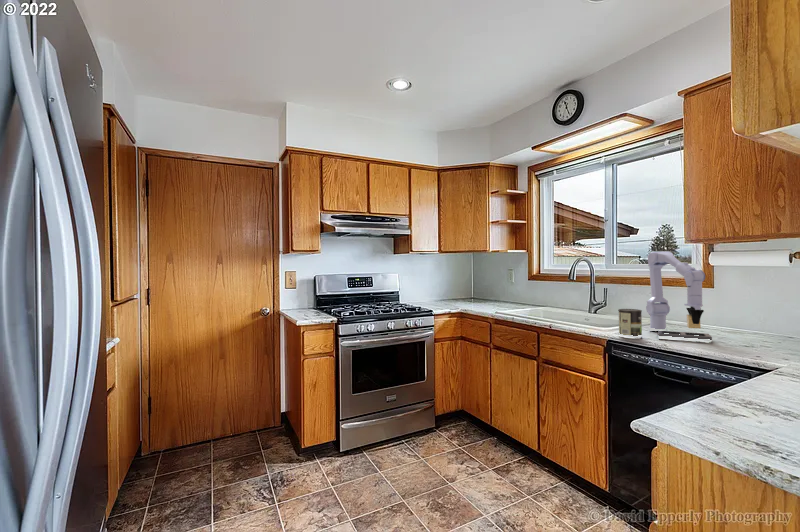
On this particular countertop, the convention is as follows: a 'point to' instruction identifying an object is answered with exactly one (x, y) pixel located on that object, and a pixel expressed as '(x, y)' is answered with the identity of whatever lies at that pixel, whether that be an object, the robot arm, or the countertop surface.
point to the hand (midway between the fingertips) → (694, 323)
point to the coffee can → (630, 322)
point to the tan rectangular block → (690, 323)
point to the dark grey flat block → (685, 334)
